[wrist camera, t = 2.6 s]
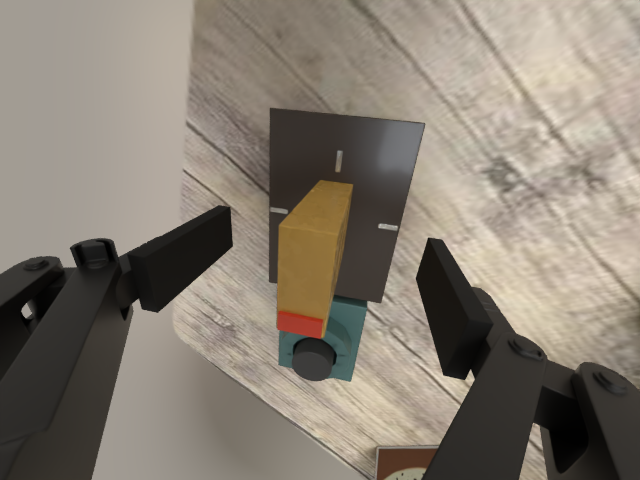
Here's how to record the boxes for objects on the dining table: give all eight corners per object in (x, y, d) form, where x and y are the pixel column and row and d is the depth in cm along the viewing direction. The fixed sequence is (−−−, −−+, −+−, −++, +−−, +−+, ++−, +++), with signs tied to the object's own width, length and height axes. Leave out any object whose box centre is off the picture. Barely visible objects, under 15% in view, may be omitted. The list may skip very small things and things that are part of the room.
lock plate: (281, 109, 19) (268, 107, 17) (418, 123, 18) (426, 123, 15) (278, 268, 25) (268, 283, 23) (380, 286, 24) (380, 304, 21)
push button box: (287, 278, 25) (273, 303, 22) (367, 293, 24) (366, 322, 21) (284, 349, 30) (272, 380, 26) (352, 364, 29) (349, 398, 25)
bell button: (297, 333, 23) (292, 348, 22) (336, 341, 23) (333, 357, 21) (295, 360, 25) (290, 376, 23) (331, 368, 24) (329, 385, 23)
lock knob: (319, 179, 18) (275, 227, 10) (353, 184, 18) (337, 237, 9) (313, 247, 20) (274, 332, 12) (343, 252, 20) (323, 342, 12)
